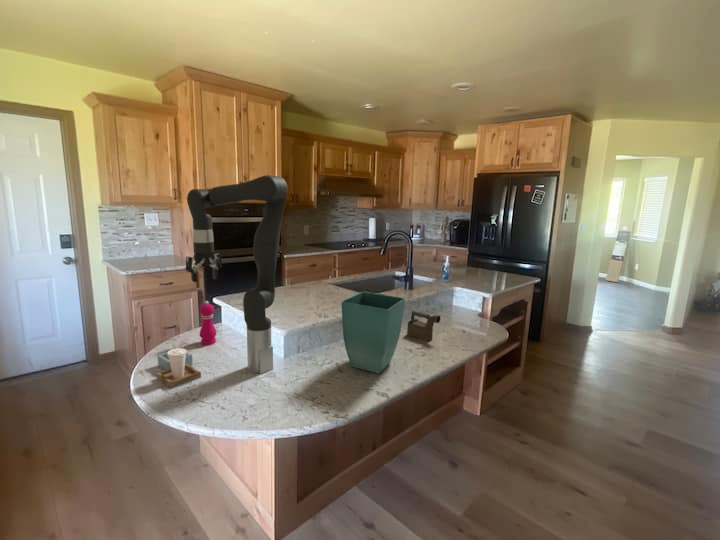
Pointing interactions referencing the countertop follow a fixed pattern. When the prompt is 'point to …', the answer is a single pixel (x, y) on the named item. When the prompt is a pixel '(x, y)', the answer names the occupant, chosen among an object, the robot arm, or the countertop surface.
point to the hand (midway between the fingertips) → (205, 280)
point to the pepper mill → (207, 325)
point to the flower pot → (371, 329)
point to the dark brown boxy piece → (422, 326)
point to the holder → (165, 363)
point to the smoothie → (177, 361)
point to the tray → (171, 382)
